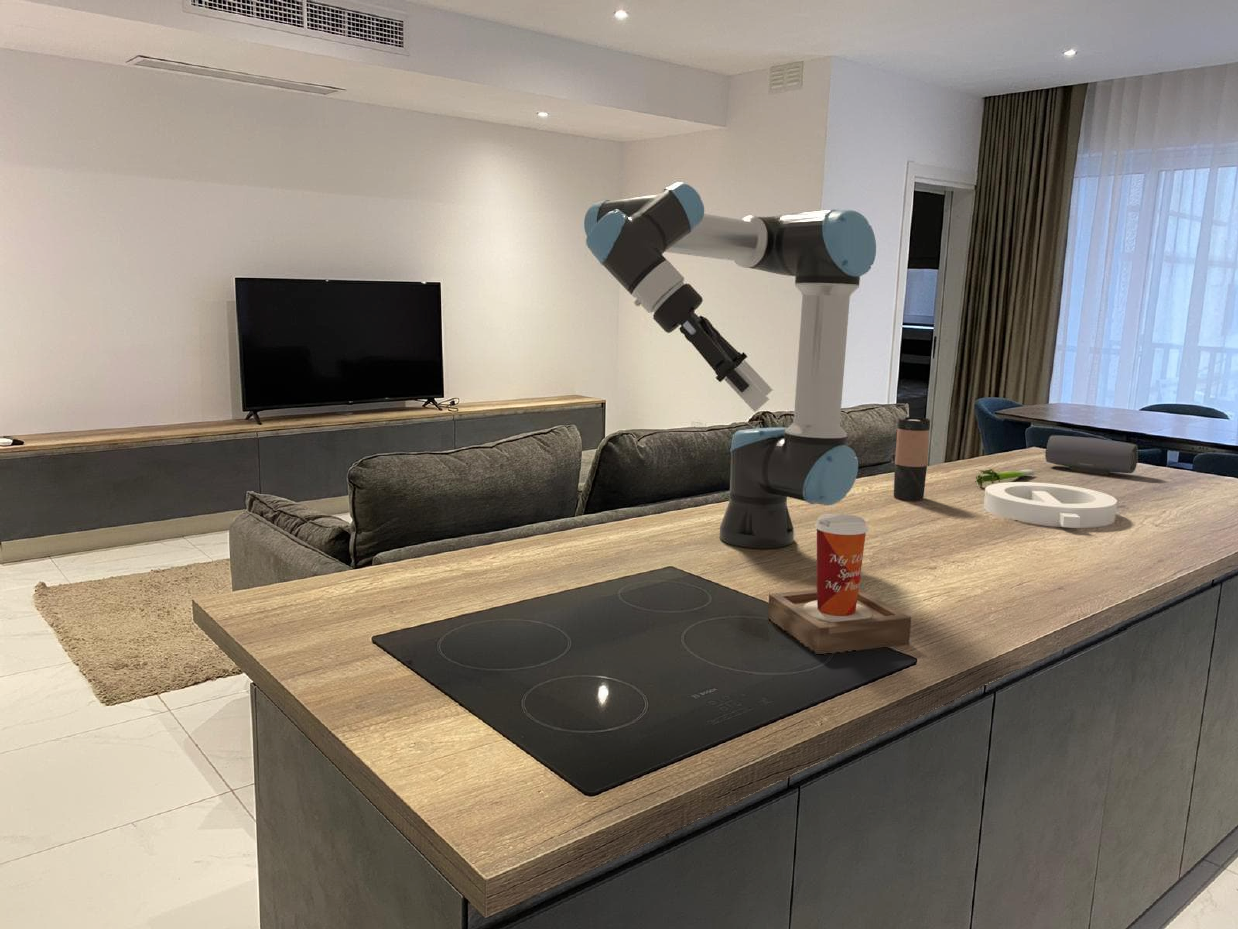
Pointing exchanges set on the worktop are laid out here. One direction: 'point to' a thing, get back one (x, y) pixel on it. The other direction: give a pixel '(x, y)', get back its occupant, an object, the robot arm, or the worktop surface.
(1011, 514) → the white circle with bar
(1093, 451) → the bluetooth speaker
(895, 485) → the travel mug
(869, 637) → the wooden coaster holder
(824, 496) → the robot arm
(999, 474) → the leek
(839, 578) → the paper cup
